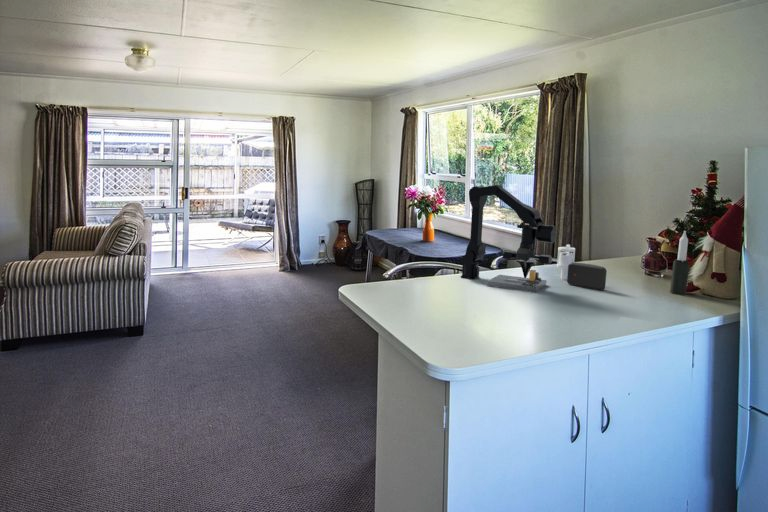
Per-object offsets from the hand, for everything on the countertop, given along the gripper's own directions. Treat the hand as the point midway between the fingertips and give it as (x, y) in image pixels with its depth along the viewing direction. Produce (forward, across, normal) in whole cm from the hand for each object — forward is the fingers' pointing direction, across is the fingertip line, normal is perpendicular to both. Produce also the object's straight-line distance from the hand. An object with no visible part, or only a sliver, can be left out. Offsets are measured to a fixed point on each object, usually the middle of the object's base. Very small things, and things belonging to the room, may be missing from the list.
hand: (525, 277), depth 218 cm
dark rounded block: (+4, +22, +13) cm, 25 cm away
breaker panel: (+4, -3, 0) cm, 5 cm away
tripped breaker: (+1, +3, 0) cm, 3 cm away
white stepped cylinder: (+4, +11, +25) cm, 27 cm away
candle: (+3, +55, +24) cm, 60 cm away
